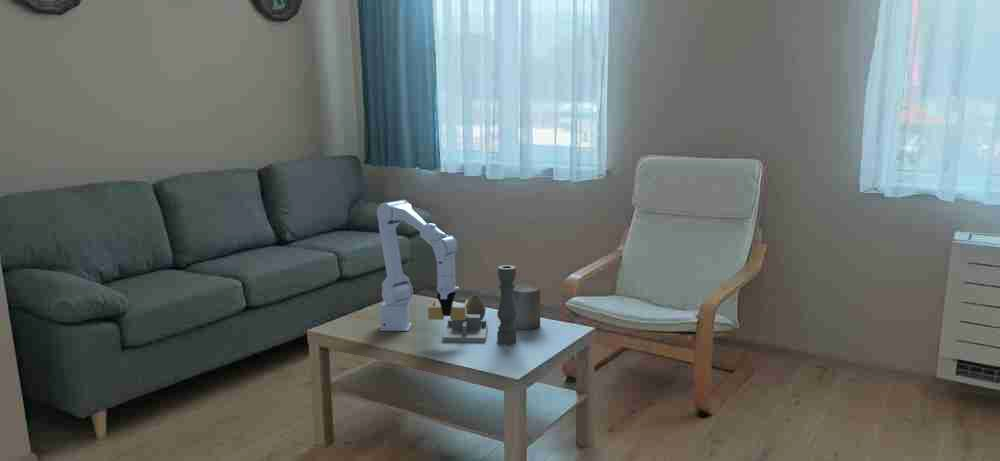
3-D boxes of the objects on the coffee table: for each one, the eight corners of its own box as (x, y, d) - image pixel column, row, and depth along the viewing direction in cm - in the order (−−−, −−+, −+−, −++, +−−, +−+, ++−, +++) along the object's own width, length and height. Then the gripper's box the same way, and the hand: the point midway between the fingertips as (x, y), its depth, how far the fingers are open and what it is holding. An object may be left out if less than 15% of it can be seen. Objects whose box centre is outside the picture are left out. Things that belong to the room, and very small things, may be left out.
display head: (485, 342, 247) (485, 324, 246) (442, 341, 248) (442, 324, 246) (487, 329, 260) (487, 312, 259) (447, 329, 260) (446, 312, 259)
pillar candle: (539, 321, 269) (538, 280, 266) (541, 329, 259) (541, 287, 256) (511, 322, 268) (511, 280, 266) (512, 330, 259) (512, 288, 256)
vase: (486, 317, 274) (486, 293, 272) (484, 323, 267) (484, 299, 265) (467, 316, 274) (467, 293, 273) (464, 322, 268) (464, 298, 266)
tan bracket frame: (465, 319, 245) (465, 307, 244) (428, 319, 246) (428, 307, 245) (468, 310, 256) (468, 299, 255) (433, 310, 257) (433, 298, 256)
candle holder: (502, 346, 243) (502, 270, 239) (494, 340, 249) (493, 266, 244) (519, 343, 246) (519, 268, 241) (510, 337, 252) (510, 264, 247)
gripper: (456, 279, 236) (456, 321, 238) (461, 268, 250) (461, 308, 253) (433, 279, 236) (434, 321, 239) (439, 268, 251) (440, 308, 253)
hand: (447, 314), depth 246 cm, fingers closed on tan bracket frame, 2 cm apart
